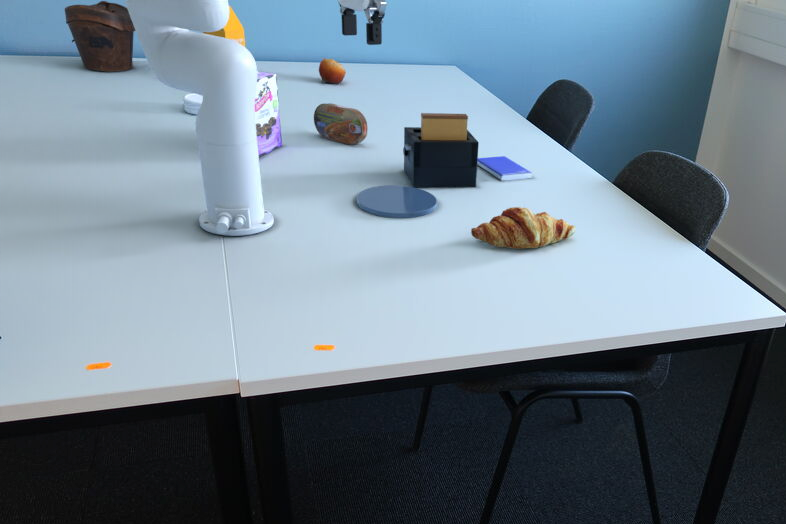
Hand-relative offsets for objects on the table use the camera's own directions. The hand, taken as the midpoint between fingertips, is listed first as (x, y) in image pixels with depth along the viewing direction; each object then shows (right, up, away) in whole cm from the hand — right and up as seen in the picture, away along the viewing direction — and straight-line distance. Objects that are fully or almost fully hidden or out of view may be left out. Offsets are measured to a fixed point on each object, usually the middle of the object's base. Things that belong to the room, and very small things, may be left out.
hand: (361, 39), depth 154 cm
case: (-91, +21, +68) cm, 115 cm away
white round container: (-50, -2, +40) cm, 64 cm away
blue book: (+28, -22, +23) cm, 42 cm away
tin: (-12, -12, +30) cm, 35 cm away
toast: (+16, -23, +9) cm, 29 cm away
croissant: (+34, -44, -12) cm, 57 cm away
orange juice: (-56, +18, +70) cm, 91 cm away
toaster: (+14, -26, +13) cm, 32 cm away
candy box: (-28, -19, +17) cm, 38 cm away
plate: (+8, -34, -2) cm, 35 cm away
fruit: (-28, +21, +80) cm, 88 cm away
